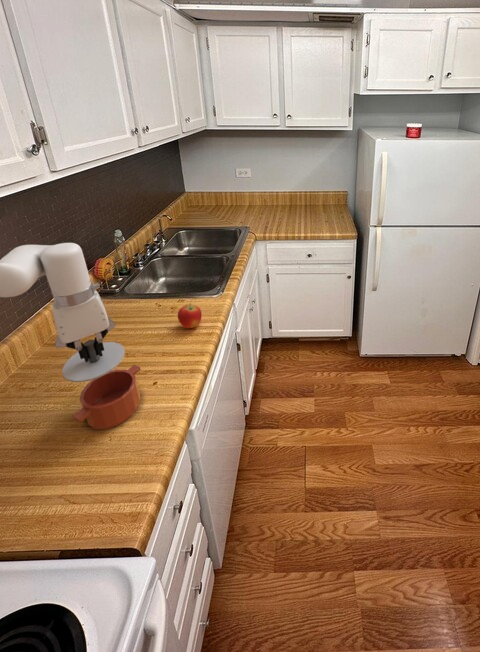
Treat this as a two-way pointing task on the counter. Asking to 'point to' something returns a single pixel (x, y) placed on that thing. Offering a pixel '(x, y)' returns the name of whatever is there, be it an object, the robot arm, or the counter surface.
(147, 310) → the counter surface
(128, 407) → the saucepan
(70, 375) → the pan lid
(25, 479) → the counter surface
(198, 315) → the apple
